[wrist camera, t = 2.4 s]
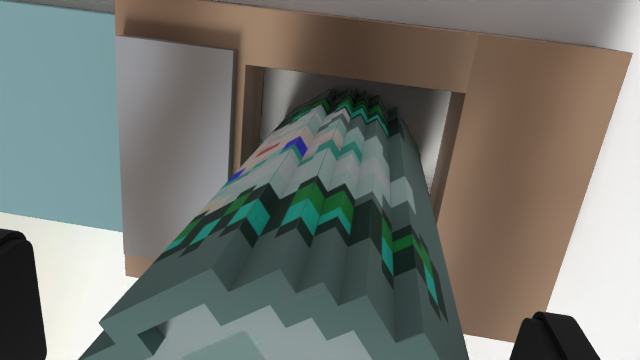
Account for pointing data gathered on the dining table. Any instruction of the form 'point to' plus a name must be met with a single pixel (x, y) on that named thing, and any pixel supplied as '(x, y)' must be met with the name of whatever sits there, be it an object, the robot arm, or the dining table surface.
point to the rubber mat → (59, 115)
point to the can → (302, 255)
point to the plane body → (380, 66)
